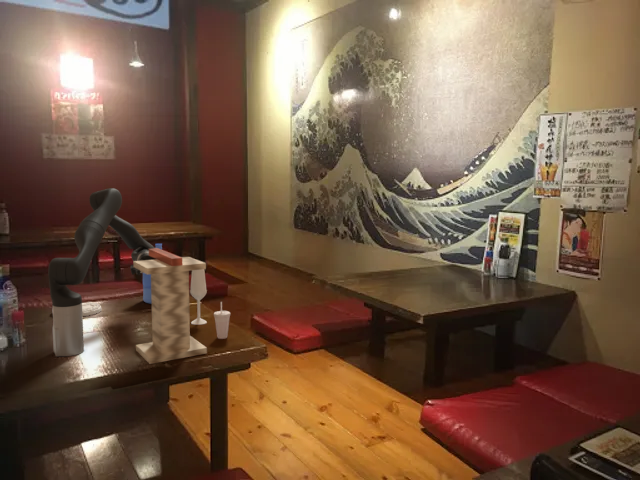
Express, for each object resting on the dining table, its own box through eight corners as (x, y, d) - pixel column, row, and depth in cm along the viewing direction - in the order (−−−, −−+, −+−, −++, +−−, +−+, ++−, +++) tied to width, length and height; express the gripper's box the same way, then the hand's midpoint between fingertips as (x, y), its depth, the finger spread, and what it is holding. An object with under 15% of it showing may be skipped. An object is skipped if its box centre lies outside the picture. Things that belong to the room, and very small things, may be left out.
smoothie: (210, 338, 202) (210, 302, 200) (219, 334, 208) (219, 299, 206) (225, 340, 200) (225, 304, 198) (233, 335, 206) (233, 300, 204)
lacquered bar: (172, 266, 175) (172, 258, 175) (148, 255, 197) (148, 248, 196) (182, 265, 177) (182, 257, 177) (158, 254, 199) (158, 248, 198)
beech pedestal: (149, 364, 175) (146, 268, 171) (136, 350, 188) (133, 261, 184) (206, 353, 186) (205, 263, 182) (190, 341, 199) (189, 256, 195)
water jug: (146, 297, 267) (145, 241, 264) (178, 296, 269) (177, 241, 265) (139, 304, 252) (138, 246, 248) (173, 304, 254) (172, 246, 250)
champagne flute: (210, 321, 225) (209, 265, 222) (200, 325, 219) (199, 268, 216) (197, 319, 228) (196, 264, 225) (187, 323, 222) (186, 266, 219)
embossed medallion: (103, 306, 249) (103, 300, 249) (99, 317, 230) (99, 310, 230) (56, 309, 243) (56, 302, 243) (48, 320, 224) (48, 313, 224)
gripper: (127, 256, 217) (129, 265, 202) (163, 249, 222) (167, 257, 207) (131, 274, 218) (133, 283, 204) (166, 266, 223) (171, 275, 209)
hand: (151, 270), depth 205 cm, fingers open, 8 cm apart
